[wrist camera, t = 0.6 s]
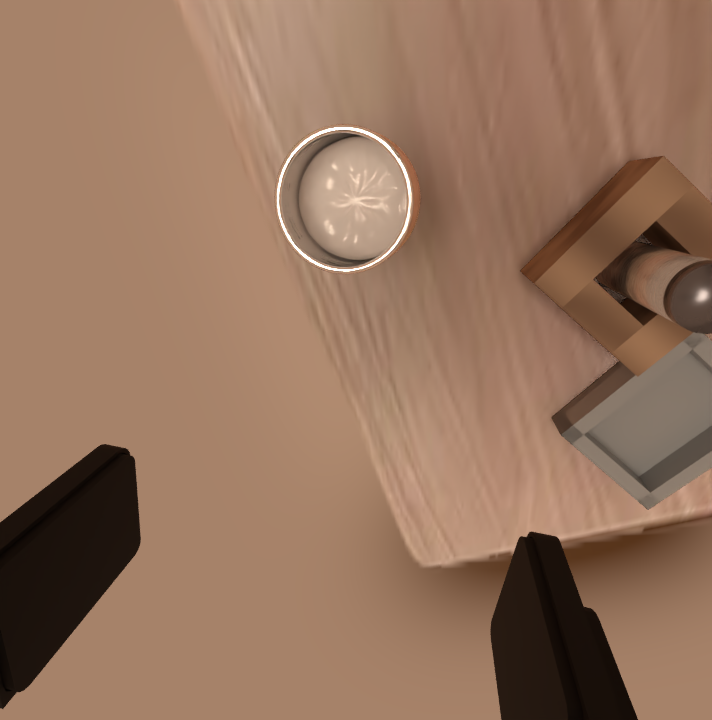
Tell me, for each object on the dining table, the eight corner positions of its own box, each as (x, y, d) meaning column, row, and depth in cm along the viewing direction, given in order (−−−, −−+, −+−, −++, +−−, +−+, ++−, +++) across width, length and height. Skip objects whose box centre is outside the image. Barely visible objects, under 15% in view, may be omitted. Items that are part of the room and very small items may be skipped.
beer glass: (428, 237, 35) (426, 267, 21) (341, 251, 36) (287, 287, 23) (417, 139, 33) (407, 102, 19) (325, 158, 34) (254, 136, 20)
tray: (674, 315, 34) (696, 326, 32) (762, 397, 35) (790, 415, 33) (551, 417, 39) (560, 435, 36) (632, 487, 40) (648, 509, 37)
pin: (622, 228, 33) (721, 247, 22) (656, 261, 33) (771, 295, 22) (582, 266, 34) (656, 302, 23) (616, 297, 35) (704, 347, 23)
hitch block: (629, 161, 31) (663, 155, 27) (726, 256, 32) (775, 266, 28) (520, 271, 35) (534, 283, 30) (611, 353, 36) (637, 376, 31)
